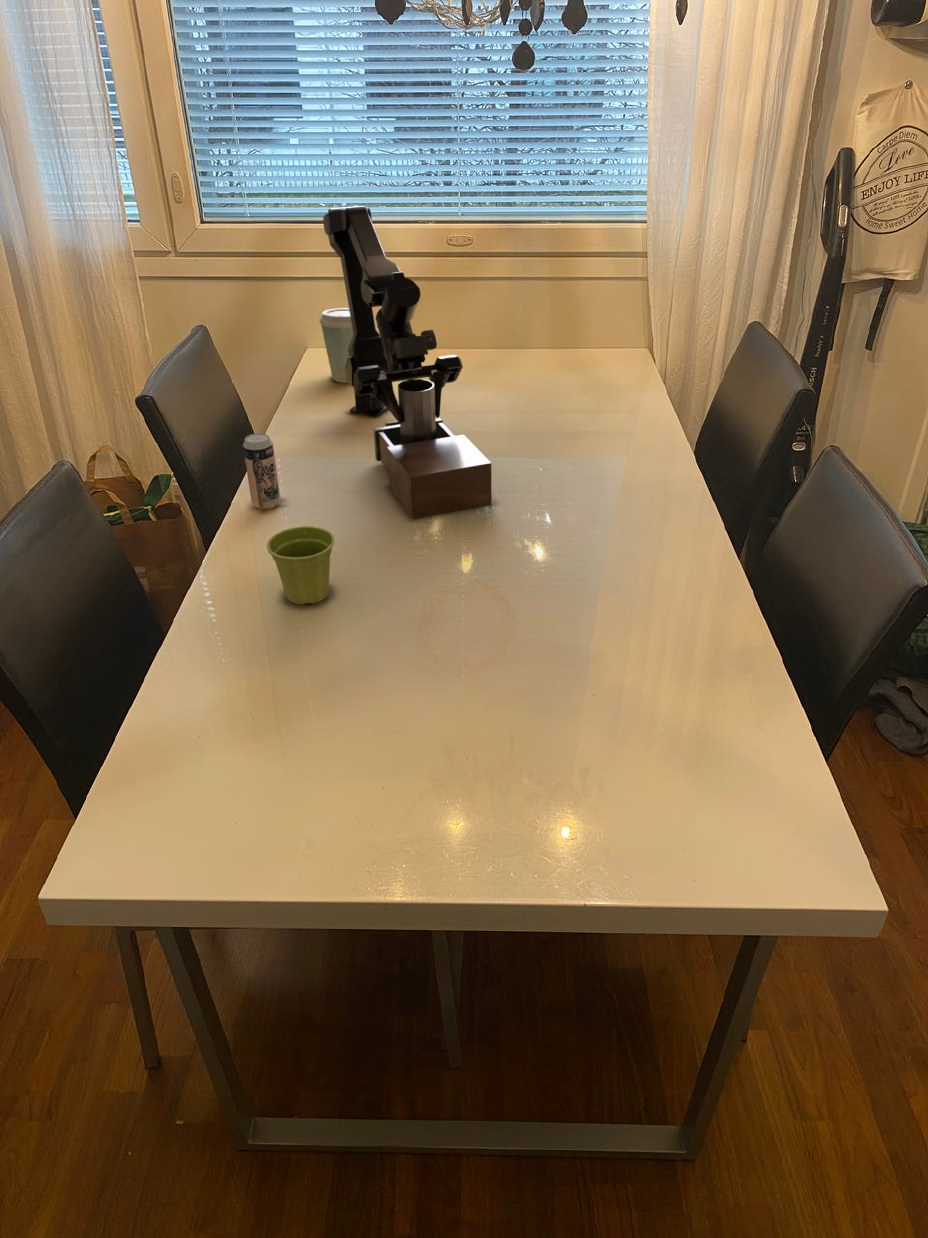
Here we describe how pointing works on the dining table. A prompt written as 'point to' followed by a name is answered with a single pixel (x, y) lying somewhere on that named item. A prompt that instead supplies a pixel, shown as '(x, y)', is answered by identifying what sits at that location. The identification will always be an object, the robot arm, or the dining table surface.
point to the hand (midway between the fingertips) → (419, 419)
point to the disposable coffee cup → (337, 339)
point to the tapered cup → (417, 410)
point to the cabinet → (439, 476)
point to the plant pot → (303, 562)
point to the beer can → (261, 471)
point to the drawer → (398, 438)
